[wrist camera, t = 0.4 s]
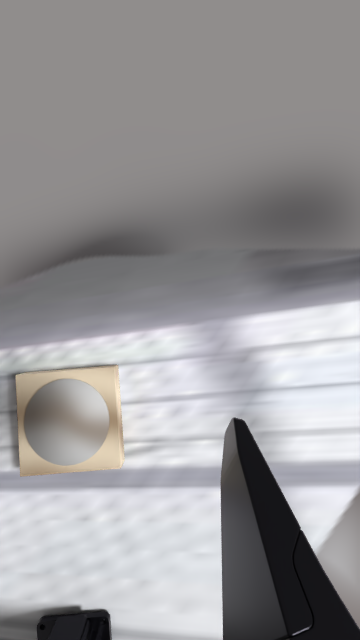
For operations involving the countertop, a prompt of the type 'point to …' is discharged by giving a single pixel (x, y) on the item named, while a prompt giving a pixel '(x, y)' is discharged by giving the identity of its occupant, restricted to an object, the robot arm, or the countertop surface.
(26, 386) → the plinth
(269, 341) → the countertop surface
